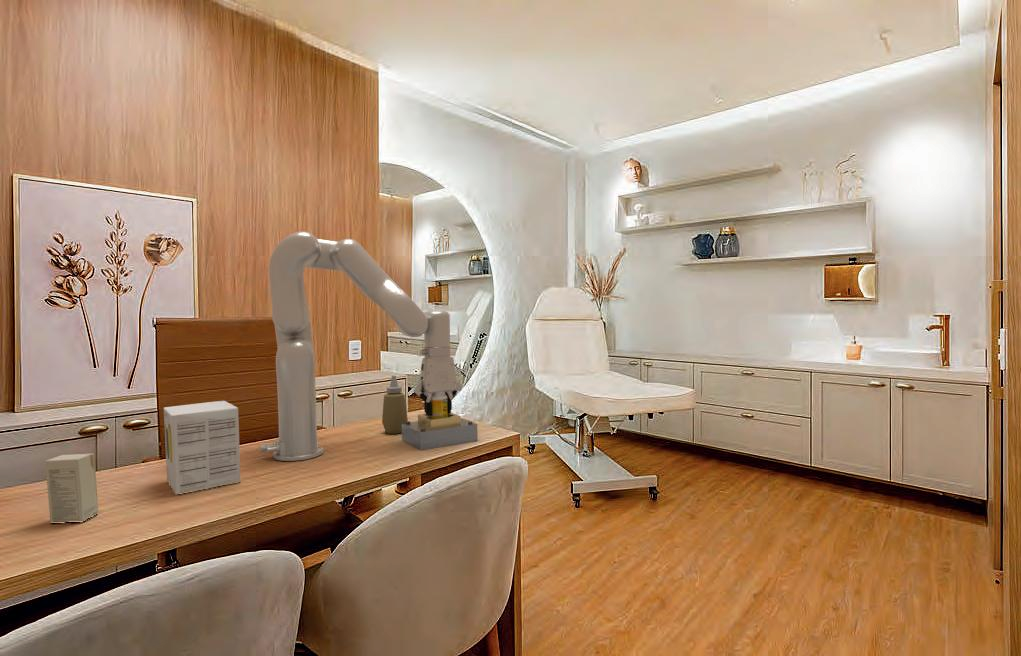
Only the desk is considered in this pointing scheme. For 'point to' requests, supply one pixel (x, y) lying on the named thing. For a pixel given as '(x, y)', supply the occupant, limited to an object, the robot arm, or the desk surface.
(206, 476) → the supplement box
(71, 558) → the desk surface
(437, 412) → the supplement bottle
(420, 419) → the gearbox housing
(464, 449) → the desk surface
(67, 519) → the skincare box
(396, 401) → the squeeze bottle
